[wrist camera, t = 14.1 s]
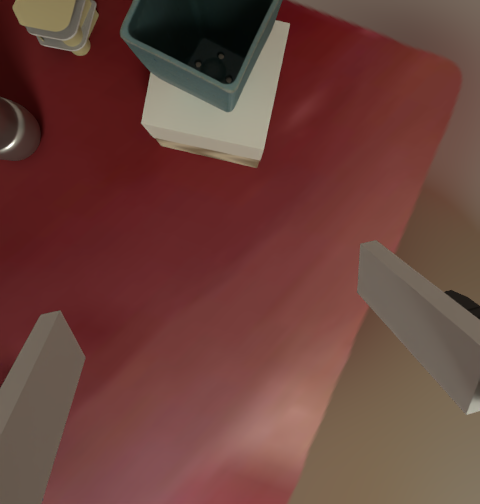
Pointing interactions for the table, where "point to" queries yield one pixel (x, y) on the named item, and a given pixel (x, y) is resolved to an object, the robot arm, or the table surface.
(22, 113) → the plastic bottle
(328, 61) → the table surface
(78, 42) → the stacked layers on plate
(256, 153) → the top slab
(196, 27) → the flower pot
